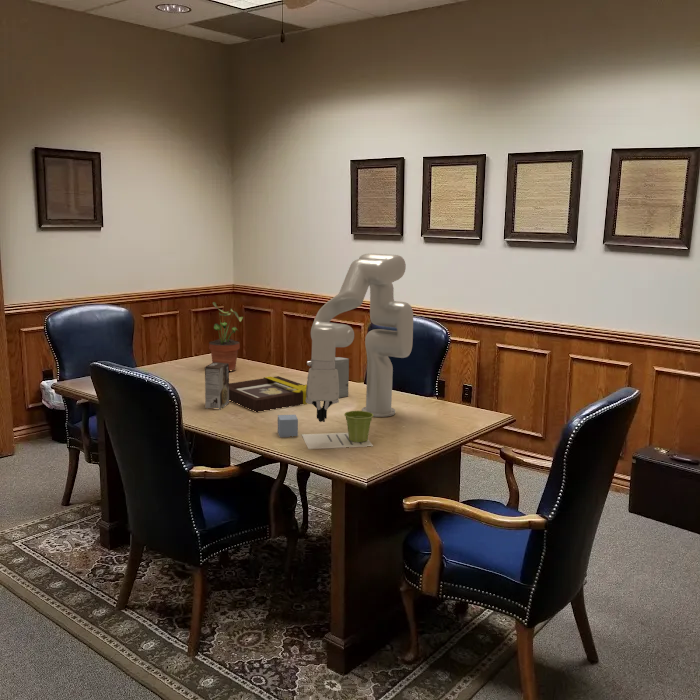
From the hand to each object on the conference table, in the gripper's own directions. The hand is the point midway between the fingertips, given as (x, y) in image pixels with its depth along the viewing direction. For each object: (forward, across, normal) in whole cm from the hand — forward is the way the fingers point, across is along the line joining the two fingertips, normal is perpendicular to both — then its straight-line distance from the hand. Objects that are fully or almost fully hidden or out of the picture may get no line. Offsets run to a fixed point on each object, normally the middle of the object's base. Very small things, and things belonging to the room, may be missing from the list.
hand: (321, 420), depth 231 cm
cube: (+7, -10, +11) cm, 16 cm away
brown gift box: (+7, -11, +57) cm, 59 cm away
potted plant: (+6, -26, +113) cm, 116 cm away
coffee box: (+7, -32, +50) cm, 59 cm away
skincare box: (+6, +16, +60) cm, 62 cm away
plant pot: (+7, +12, +1) cm, 14 cm away
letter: (+7, +6, +2) cm, 9 cm away
